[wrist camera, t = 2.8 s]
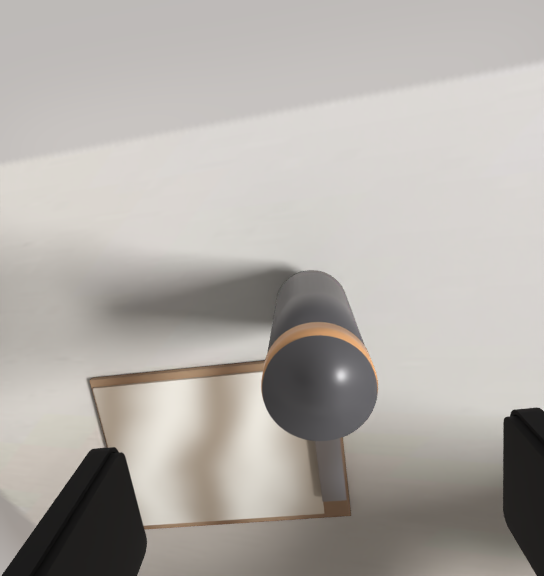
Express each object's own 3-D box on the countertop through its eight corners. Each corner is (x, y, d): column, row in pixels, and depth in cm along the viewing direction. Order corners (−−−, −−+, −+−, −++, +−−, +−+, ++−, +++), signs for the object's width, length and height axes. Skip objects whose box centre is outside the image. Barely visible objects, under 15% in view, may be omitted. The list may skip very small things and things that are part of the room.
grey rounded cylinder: (341, 258, 26) (374, 330, 15) (347, 322, 27) (383, 437, 16) (272, 266, 27) (252, 342, 15) (281, 329, 28) (269, 446, 16)
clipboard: (333, 353, 28) (335, 361, 27) (350, 511, 31) (352, 524, 30) (92, 377, 29) (83, 386, 28) (130, 526, 32) (124, 539, 31)
